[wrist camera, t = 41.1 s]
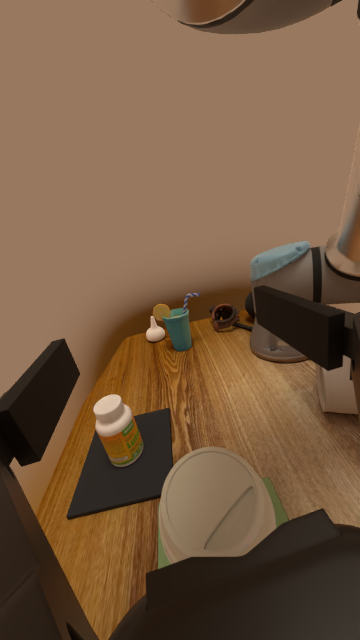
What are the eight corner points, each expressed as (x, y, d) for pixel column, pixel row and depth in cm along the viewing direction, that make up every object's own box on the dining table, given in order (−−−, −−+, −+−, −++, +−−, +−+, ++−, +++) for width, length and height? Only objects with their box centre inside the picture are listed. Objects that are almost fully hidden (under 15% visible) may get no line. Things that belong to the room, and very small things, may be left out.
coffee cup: (195, 676, 16) (152, 596, 12) (181, 532, 24) (152, 454, 20) (307, 643, 16) (303, 553, 12) (256, 511, 24) (244, 430, 20)
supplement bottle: (138, 467, 32) (118, 416, 29) (105, 469, 33) (80, 420, 30) (147, 435, 37) (130, 389, 34) (117, 438, 38) (98, 392, 35)
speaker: (244, 315, 77) (240, 287, 73) (274, 310, 75) (271, 281, 72) (250, 327, 67) (247, 296, 64) (285, 321, 66) (283, 289, 63)
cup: (204, 334, 70) (195, 288, 65) (212, 344, 63) (203, 293, 58) (161, 347, 68) (148, 300, 63) (165, 358, 61) (150, 307, 56)
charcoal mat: (98, 427, 43) (97, 424, 42) (169, 410, 43) (169, 407, 42) (67, 519, 28) (66, 516, 28) (174, 494, 29) (173, 491, 28)
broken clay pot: (248, 321, 72) (244, 306, 67) (231, 343, 70) (225, 329, 64) (219, 309, 80) (213, 294, 74) (203, 328, 78) (195, 314, 72)
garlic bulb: (148, 336, 78) (142, 315, 75) (165, 332, 78) (160, 311, 75) (146, 344, 72) (140, 322, 69) (165, 340, 72) (159, 317, 69)
